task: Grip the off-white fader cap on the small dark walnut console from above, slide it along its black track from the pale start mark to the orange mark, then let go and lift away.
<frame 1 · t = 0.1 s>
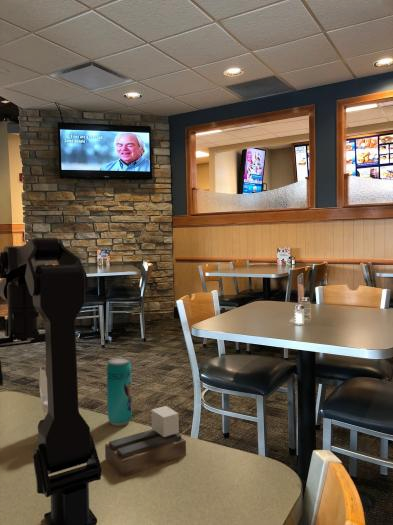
hand: (24, 381, 90), 15 cm above the table, tool pointing down, fingers open, 9 cm apart
pepper shaker: (52, 447, 92), on the table
console: (146, 457, 87), on the table
beverage can: (120, 422, 104), on the table
beer glass: (56, 431, 100), on the table
fader: (164, 423, 89), point 6 cm above the table, slide at -4.5 cm
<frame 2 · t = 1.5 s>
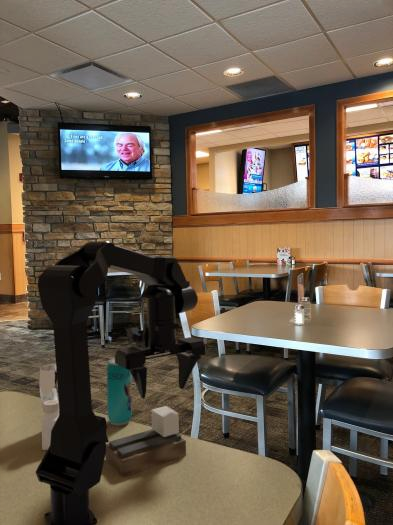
hand: (162, 393, 89), 12 cm above the table, tool pointing down, fingers open, 9 cm apart
nothing on the table moved.
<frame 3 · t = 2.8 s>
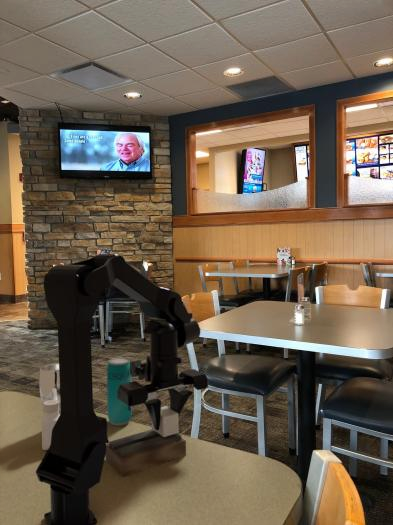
hand: (164, 427, 89), 5 cm above the table, tool pointing down, fingers closed on fader, 3 cm apart
fader: (164, 423, 89), point 6 cm above the table, slide at -4.5 cm, touching gripper
everything else where it was.
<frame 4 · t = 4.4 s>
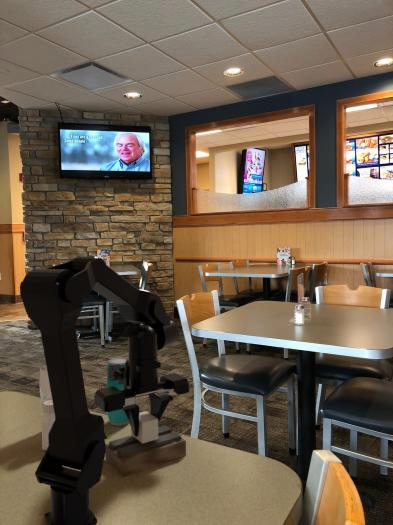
hand: (144, 433, 87), 5 cm above the table, tool pointing down, fingers closed on fader, 3 cm apart
fader: (144, 429, 87), point 6 cm above the table, slide at 0.3 cm, touching gripper
everything else where it was.
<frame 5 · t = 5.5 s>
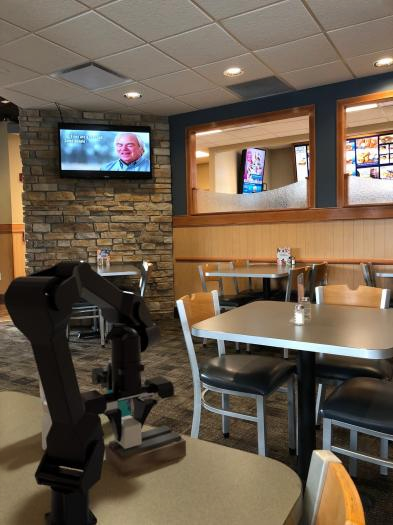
hand: (127, 438, 84), 5 cm above the table, tool pointing down, fingers closed on fader, 3 cm apart
fader: (127, 433, 84), point 6 cm above the table, slide at 3.9 cm, touching gripper
everything else where it was.
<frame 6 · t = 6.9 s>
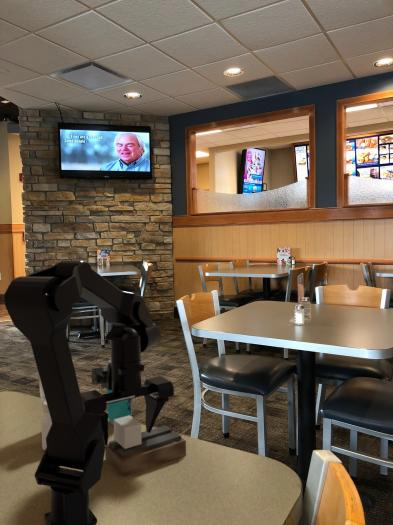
hand: (127, 438, 84), 5 cm above the table, tool pointing down, fingers open, 9 cm apart
fader: (127, 434, 84), point 6 cm above the table, slide at 4.0 cm
everything else where it was.
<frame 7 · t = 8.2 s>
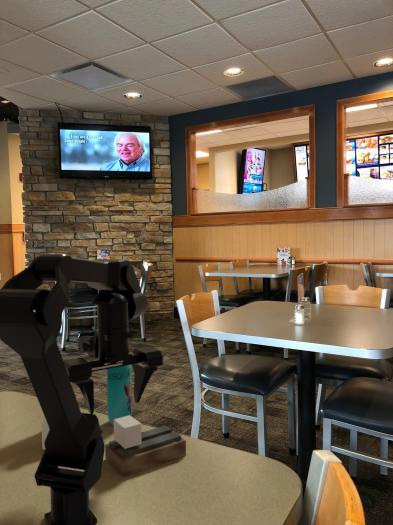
hand: (114, 407, 82), 12 cm above the table, tool pointing down, fingers open, 9 cm apart
nothing on the table moved.
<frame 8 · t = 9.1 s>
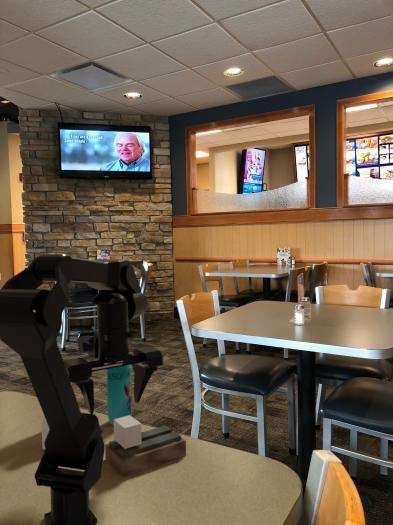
hand: (114, 407, 82), 12 cm above the table, tool pointing down, fingers open, 9 cm apart
nothing on the table moved.
at the end: fader slide at 4.0 cm; the gripper is holding nothing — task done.
